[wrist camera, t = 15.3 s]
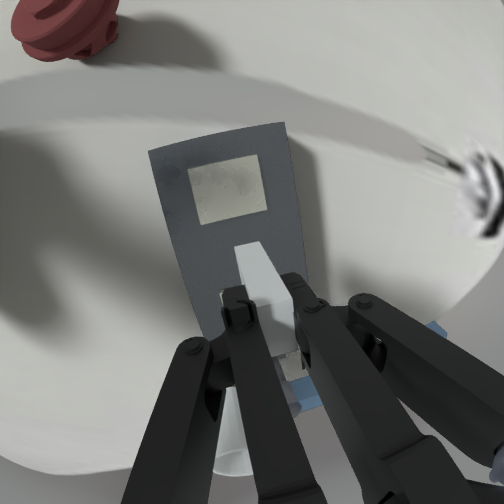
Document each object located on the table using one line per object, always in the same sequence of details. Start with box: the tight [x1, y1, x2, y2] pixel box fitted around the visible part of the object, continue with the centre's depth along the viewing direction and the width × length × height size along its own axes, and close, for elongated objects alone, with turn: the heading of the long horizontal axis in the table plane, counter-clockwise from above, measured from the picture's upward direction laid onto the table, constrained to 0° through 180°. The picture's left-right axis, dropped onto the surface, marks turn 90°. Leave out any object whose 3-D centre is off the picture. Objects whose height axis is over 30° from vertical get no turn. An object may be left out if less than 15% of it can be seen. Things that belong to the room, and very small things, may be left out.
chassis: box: [148, 122, 308, 341], centre depth 29 cm, size 12×22×5 cm, turn 11°
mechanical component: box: [11, 0, 119, 62], centre depth 14 cm, size 12×10×10 cm
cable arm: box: [280, 321, 447, 418], centre depth 28 cm, size 24×4×3 cm, turn 103°
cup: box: [213, 386, 253, 476], centre depth 35 cm, size 10×10×13 cm
